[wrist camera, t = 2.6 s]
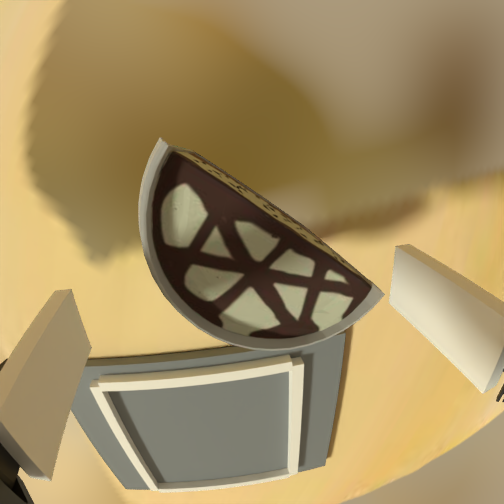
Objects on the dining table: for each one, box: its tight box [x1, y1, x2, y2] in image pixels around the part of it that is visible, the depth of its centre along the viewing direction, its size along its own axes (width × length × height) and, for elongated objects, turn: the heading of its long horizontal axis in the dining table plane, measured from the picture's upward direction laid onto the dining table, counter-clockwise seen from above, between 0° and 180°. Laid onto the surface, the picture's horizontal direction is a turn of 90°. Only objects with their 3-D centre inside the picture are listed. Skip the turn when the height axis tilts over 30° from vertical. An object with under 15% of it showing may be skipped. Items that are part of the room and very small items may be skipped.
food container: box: [139, 137, 385, 351], centre depth 17 cm, size 12×6×10 cm, turn 54°
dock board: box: [71, 331, 346, 492], centre depth 28 cm, size 26×22×2 cm
